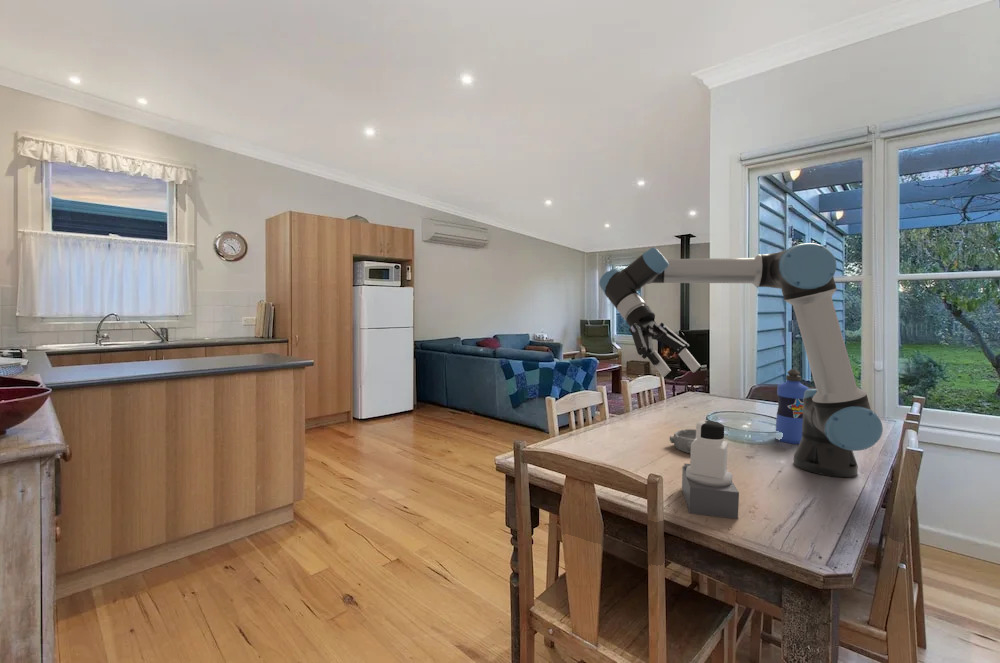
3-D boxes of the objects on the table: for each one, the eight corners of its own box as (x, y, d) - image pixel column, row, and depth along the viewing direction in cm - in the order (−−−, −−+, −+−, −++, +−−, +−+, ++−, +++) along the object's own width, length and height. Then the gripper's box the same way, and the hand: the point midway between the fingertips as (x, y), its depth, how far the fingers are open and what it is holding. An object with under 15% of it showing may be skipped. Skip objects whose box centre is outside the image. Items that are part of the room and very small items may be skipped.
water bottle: (812, 444, 154) (816, 371, 152) (785, 444, 154) (788, 371, 153) (795, 436, 163) (798, 367, 162) (769, 436, 163) (772, 367, 162)
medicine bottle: (727, 470, 109) (728, 421, 108) (723, 480, 103) (725, 428, 102) (695, 464, 112) (696, 417, 112) (689, 473, 106) (691, 423, 106)
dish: (701, 442, 157) (702, 427, 156) (728, 455, 143) (729, 439, 143) (663, 444, 154) (663, 429, 154) (686, 457, 140) (687, 441, 140)
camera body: (724, 493, 113) (725, 464, 113) (737, 519, 100) (739, 485, 99) (681, 489, 116) (682, 460, 116) (689, 513, 102) (690, 480, 102)
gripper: (654, 321, 139) (699, 376, 128) (599, 322, 125) (643, 384, 114) (670, 304, 135) (717, 359, 124) (615, 303, 120) (662, 366, 109)
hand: (682, 371), depth 119 cm, fingers open, 13 cm apart
